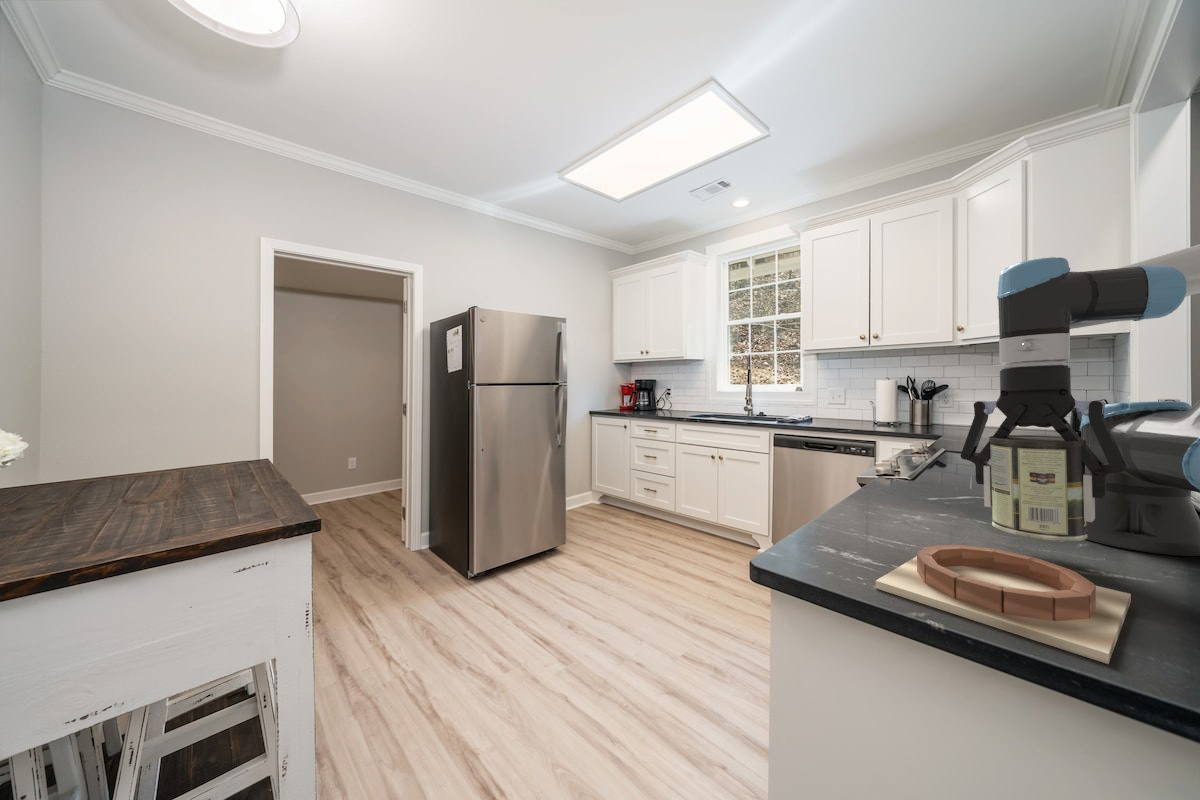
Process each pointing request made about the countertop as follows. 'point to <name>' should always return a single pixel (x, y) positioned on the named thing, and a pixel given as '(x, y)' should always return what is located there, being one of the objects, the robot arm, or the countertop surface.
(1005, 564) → the ring holder
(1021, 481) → the coffee can
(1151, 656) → the countertop surface
